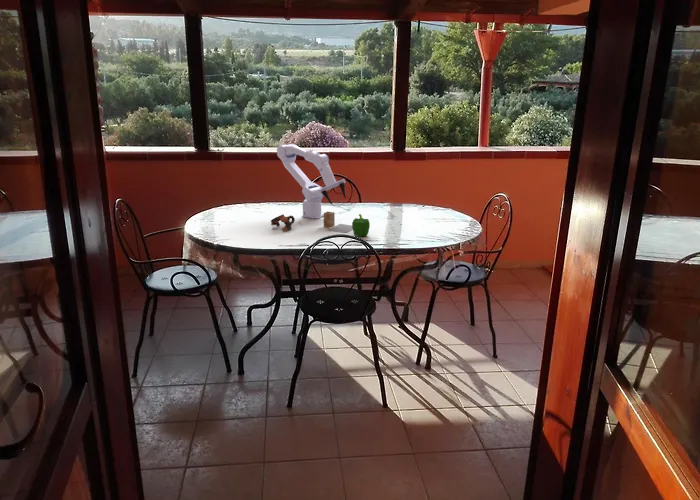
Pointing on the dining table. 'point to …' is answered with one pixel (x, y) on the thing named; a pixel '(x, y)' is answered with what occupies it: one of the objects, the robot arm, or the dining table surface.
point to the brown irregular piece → (283, 219)
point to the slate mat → (342, 228)
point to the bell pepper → (360, 226)
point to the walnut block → (329, 219)
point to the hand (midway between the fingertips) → (338, 201)
